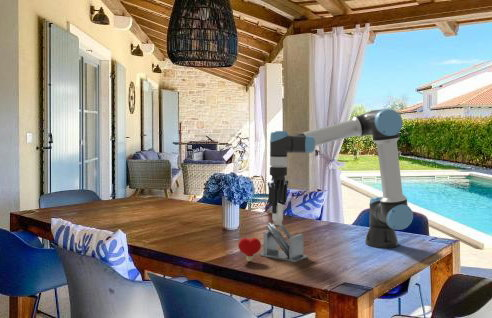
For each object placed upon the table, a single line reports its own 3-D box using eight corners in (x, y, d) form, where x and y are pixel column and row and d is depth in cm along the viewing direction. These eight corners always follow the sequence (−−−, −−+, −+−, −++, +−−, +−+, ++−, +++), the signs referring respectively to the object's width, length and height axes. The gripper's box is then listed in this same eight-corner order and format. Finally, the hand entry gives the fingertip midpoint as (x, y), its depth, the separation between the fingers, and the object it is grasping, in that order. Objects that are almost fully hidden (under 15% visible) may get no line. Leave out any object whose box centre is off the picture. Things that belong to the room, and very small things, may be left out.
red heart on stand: (260, 259, 207) (260, 236, 206) (261, 264, 200) (261, 239, 199) (238, 259, 206) (238, 236, 206) (238, 264, 199) (238, 240, 199)
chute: (307, 257, 211) (307, 222, 210) (295, 262, 203) (295, 226, 202) (272, 251, 221) (272, 218, 220) (259, 255, 213) (260, 221, 212)
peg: (276, 223, 215) (276, 203, 215) (283, 224, 213) (283, 203, 213) (272, 224, 212) (272, 204, 212) (279, 225, 210) (279, 204, 210)
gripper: (281, 165, 220) (280, 216, 221) (260, 166, 207) (260, 221, 209) (295, 165, 216) (294, 218, 217) (275, 167, 203) (274, 223, 204)
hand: (277, 219), depth 213 cm, fingers closed on peg, 3 cm apart
